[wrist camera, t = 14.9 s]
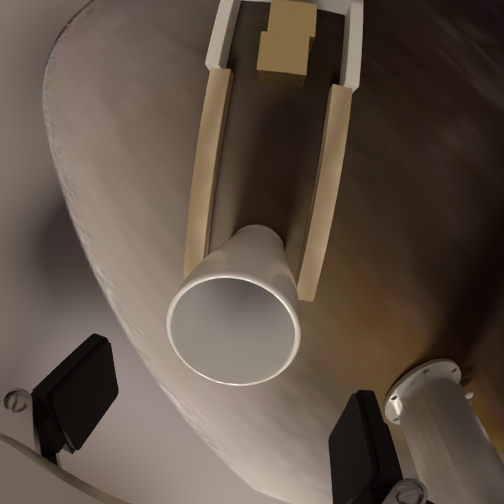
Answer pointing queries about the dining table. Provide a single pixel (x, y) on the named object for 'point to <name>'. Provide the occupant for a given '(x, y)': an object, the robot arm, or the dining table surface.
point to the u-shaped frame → (345, 3)
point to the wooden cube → (283, 59)
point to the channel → (323, 189)
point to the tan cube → (293, 19)
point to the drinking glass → (238, 311)
